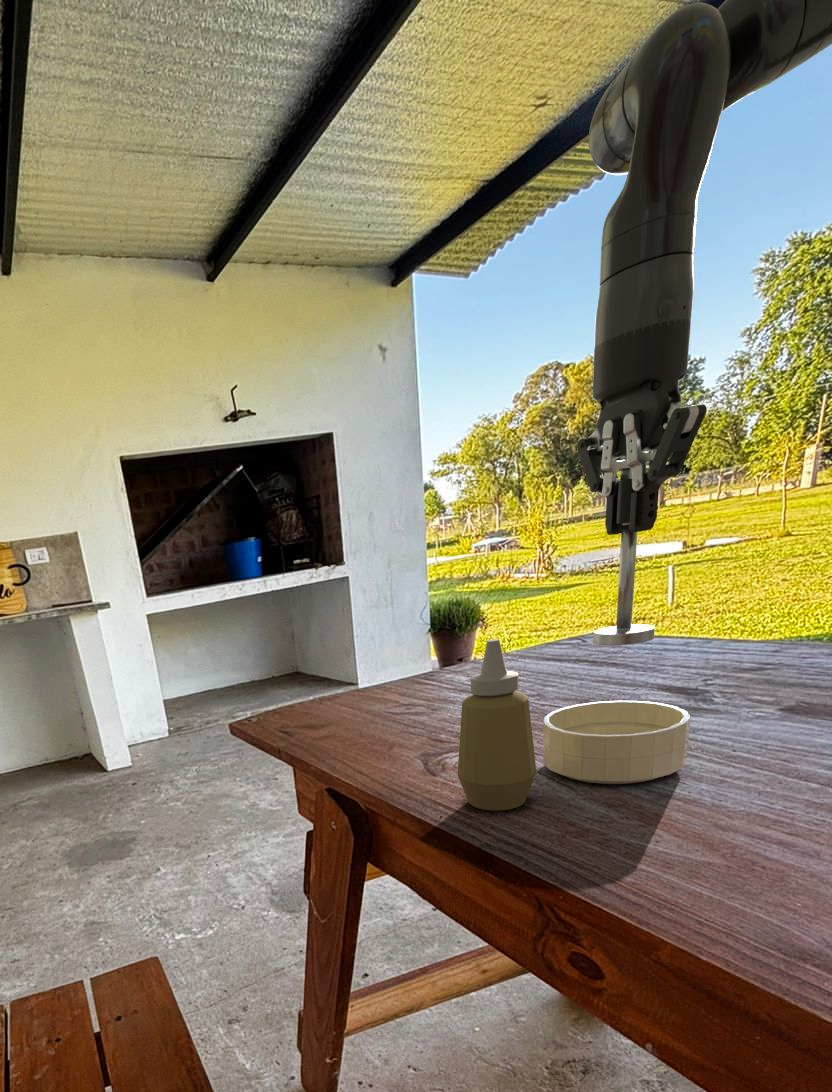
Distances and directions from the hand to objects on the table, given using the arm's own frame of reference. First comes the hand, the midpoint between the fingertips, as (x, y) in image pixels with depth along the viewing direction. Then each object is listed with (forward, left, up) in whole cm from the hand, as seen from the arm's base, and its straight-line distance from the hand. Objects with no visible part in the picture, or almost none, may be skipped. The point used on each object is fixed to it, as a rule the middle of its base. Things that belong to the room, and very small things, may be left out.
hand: (629, 531), depth 63 cm
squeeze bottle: (+16, +1, -26) cm, 31 cm away
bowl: (0, -1, -26) cm, 26 cm away
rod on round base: (0, 0, -11) cm, 11 cm away
